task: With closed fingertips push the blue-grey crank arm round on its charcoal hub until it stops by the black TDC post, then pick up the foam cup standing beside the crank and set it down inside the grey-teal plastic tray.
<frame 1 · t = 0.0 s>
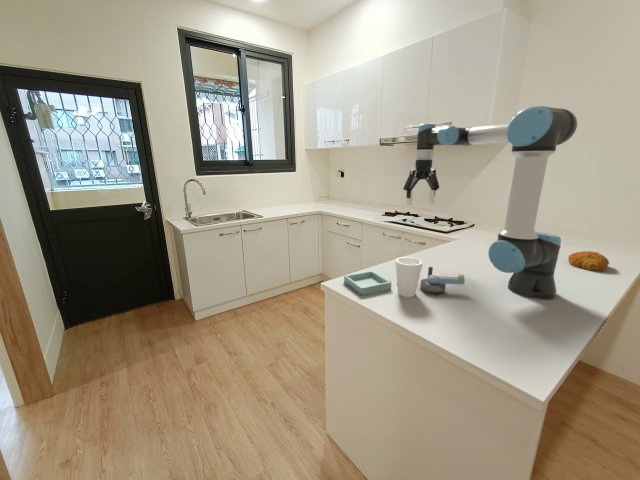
hand: (420, 204, 145), 28 cm above the countertop, tool pointing down, fingers open, 13 cm apart
tray: (366, 285, 119), on the countertop
croissant: (586, 266, 141), on the countertop
crank base: (432, 290, 115), on the countertop
crank: (445, 278, 113), point 5 cm above the countertop, hinge at 0.0°
foam cup: (406, 293, 112), on the countertop
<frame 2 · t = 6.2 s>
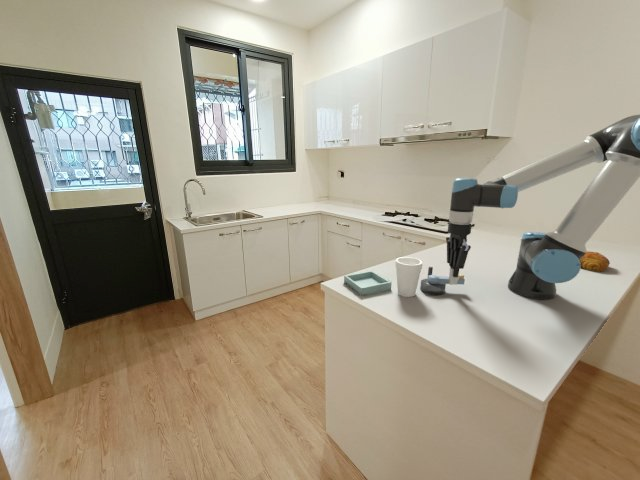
hand: (452, 283, 111), 4 cm above the countertop, tool pointing down, fingers closed
crank: (445, 278, 113), point 5 cm above the countertop, hinge at 0.1°, touching gripper
everything else where it was.
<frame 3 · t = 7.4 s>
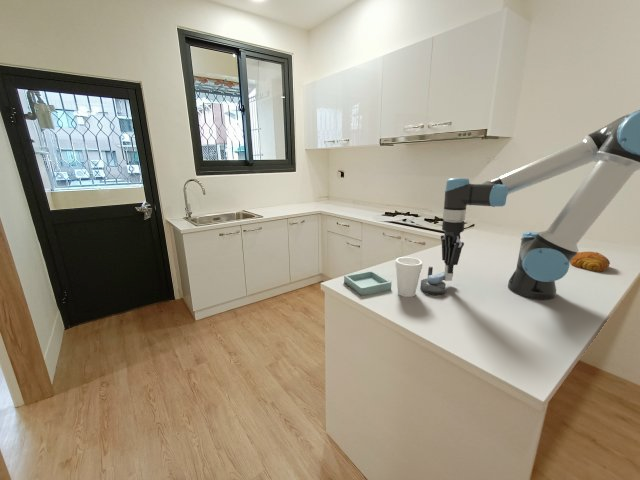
hand: (447, 280, 115), 4 cm above the countertop, tool pointing down, fingers closed
crank: (440, 275, 116), point 5 cm above the countertop, hinge at 40.7°, touching gripper
everything else where it was.
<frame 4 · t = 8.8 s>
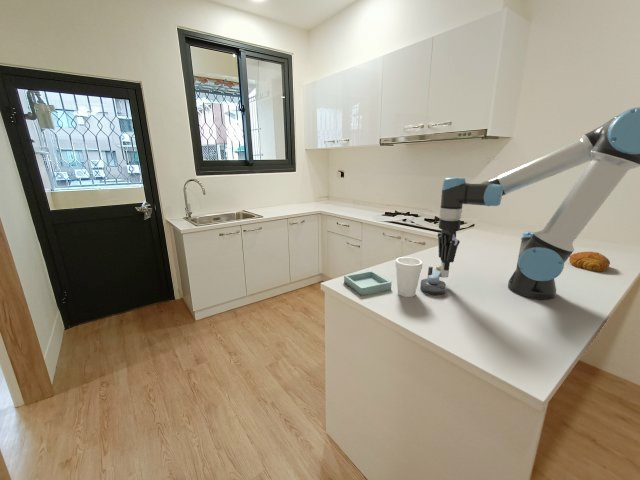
hand: (444, 276, 118), 4 cm above the countertop, tool pointing down, fingers closed
crank: (435, 274, 117), point 5 cm above the countertop, hinge at 65.1°, touching gripper
everything else where it was.
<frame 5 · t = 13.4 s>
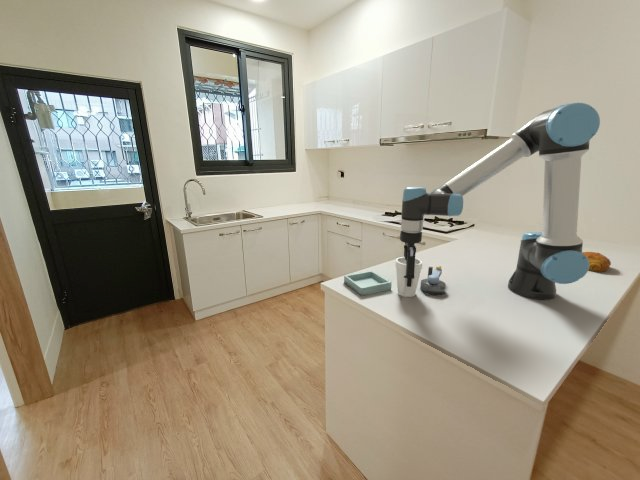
hand: (406, 288, 112), 2 cm above the countertop, tool pointing down, fingers closed on foam cup, 9 cm apart
crank: (435, 274, 117), point 5 cm above the countertop, hinge at 65.2°
foam cup: (406, 293, 112), on the countertop, touching gripper
everything else where it was.
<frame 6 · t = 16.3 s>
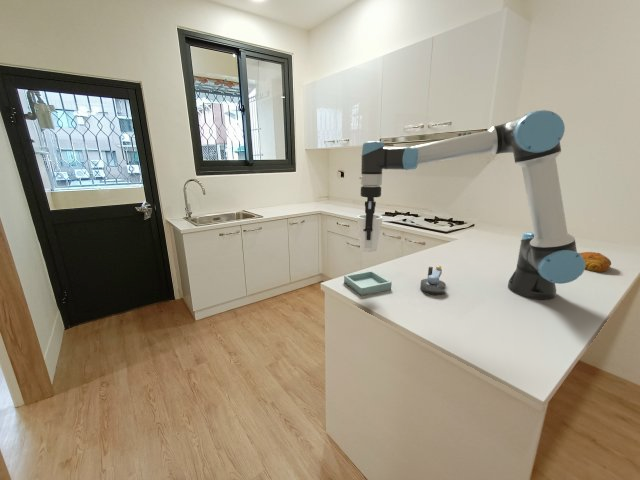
hand: (368, 244, 115), 17 cm above the countertop, tool pointing down, fingers closed on foam cup, 9 cm apart
foam cup: (368, 249, 115), point 15 cm above the countertop, touching gripper
when the fingers open (4 cm above the countertop, at t = 19.2 s): foam cup drops 1 cm, resting on tray.
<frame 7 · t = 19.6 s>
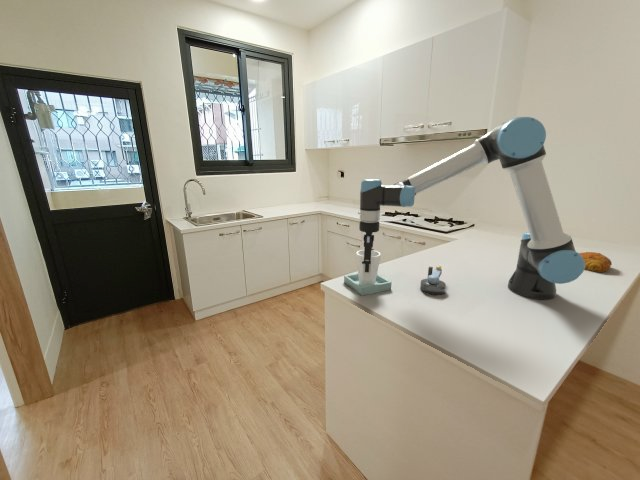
hand: (367, 273, 118), 6 cm above the countertop, tool pointing down, fingers open, 13 cm apart
foam cup: (367, 284, 119), point 1 cm above the countertop, touching tray
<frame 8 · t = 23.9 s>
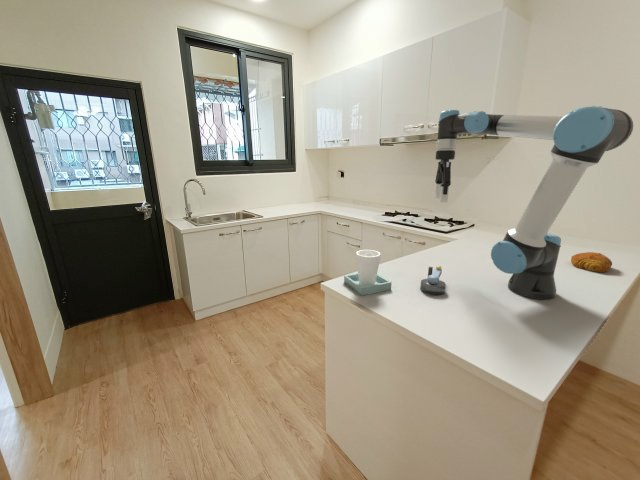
hand: (440, 200, 131), 32 cm above the countertop, tool pointing down, fingers open, 13 cm apart
at the end: crank at +65° (first picture: +0°); foam cup inside the target area on the tray (0.0 cm from its centre), point 0.6 cm above the tray's base; foam cup tilted 0° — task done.
